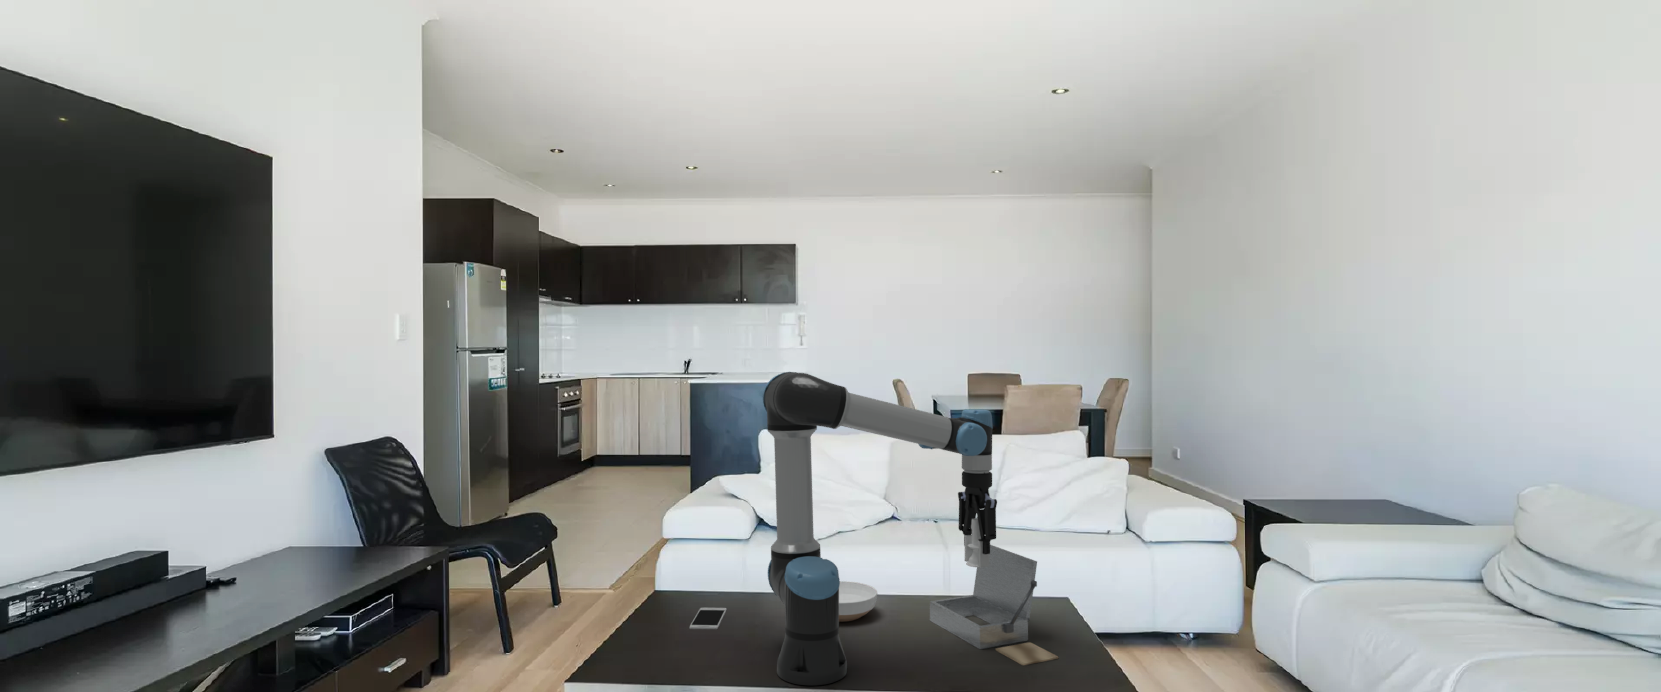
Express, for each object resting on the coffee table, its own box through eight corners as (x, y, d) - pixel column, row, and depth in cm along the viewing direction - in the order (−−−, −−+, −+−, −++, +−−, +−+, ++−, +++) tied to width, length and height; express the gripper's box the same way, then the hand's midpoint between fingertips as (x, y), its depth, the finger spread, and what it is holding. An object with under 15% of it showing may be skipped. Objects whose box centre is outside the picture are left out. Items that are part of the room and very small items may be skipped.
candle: (968, 561, 198) (968, 514, 198) (989, 563, 196) (989, 515, 196) (964, 566, 193) (964, 517, 193) (985, 568, 191) (985, 519, 191)
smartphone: (726, 610, 210) (726, 607, 210) (717, 630, 195) (717, 627, 195) (700, 610, 211) (700, 607, 211) (688, 630, 195) (688, 626, 195)
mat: (1022, 665, 172) (1022, 663, 172) (995, 650, 181) (995, 648, 181) (1058, 658, 176) (1058, 656, 176) (1029, 643, 185) (1029, 642, 185)
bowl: (878, 604, 215) (878, 582, 215) (875, 628, 196) (875, 604, 196) (809, 602, 217) (809, 580, 217) (799, 625, 198) (799, 601, 198)
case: (982, 650, 181) (982, 569, 181) (929, 620, 202) (929, 547, 202) (1040, 640, 188) (1039, 561, 188) (983, 612, 209) (983, 541, 209)
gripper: (1011, 474, 188) (1011, 571, 188) (968, 465, 205) (968, 553, 205) (986, 476, 185) (986, 574, 185) (944, 467, 202) (944, 556, 201)
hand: (976, 563), depth 195 cm, fingers closed on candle, 5 cm apart
